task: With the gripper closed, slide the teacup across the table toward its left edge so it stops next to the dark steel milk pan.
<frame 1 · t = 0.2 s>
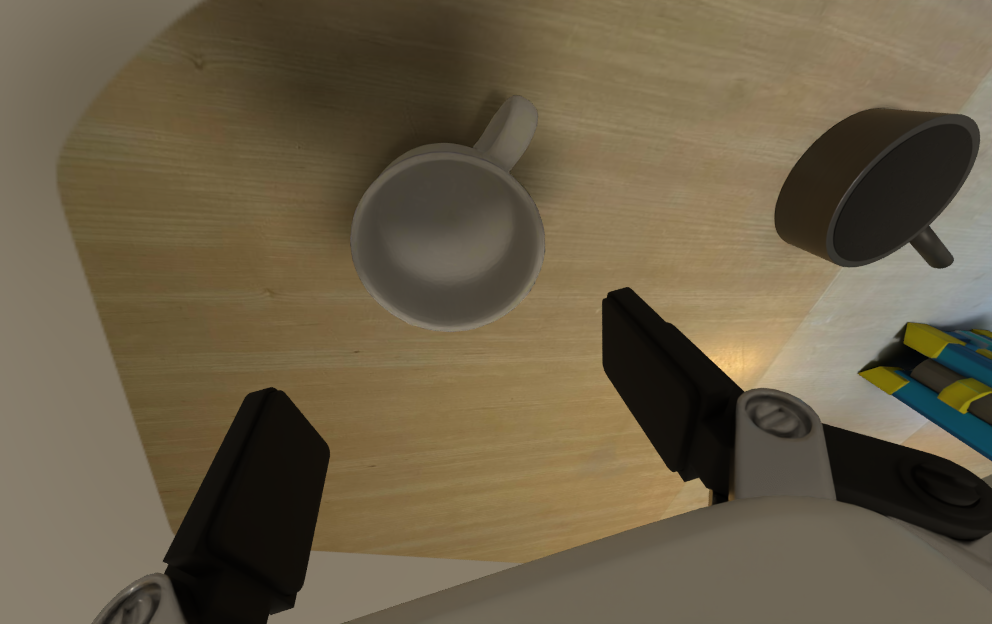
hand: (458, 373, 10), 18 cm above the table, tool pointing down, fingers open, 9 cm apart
milk pan: (837, 184, 32), on the table
teacup: (454, 194, 25), on the table
decorative book: (921, 349, 52), on the table
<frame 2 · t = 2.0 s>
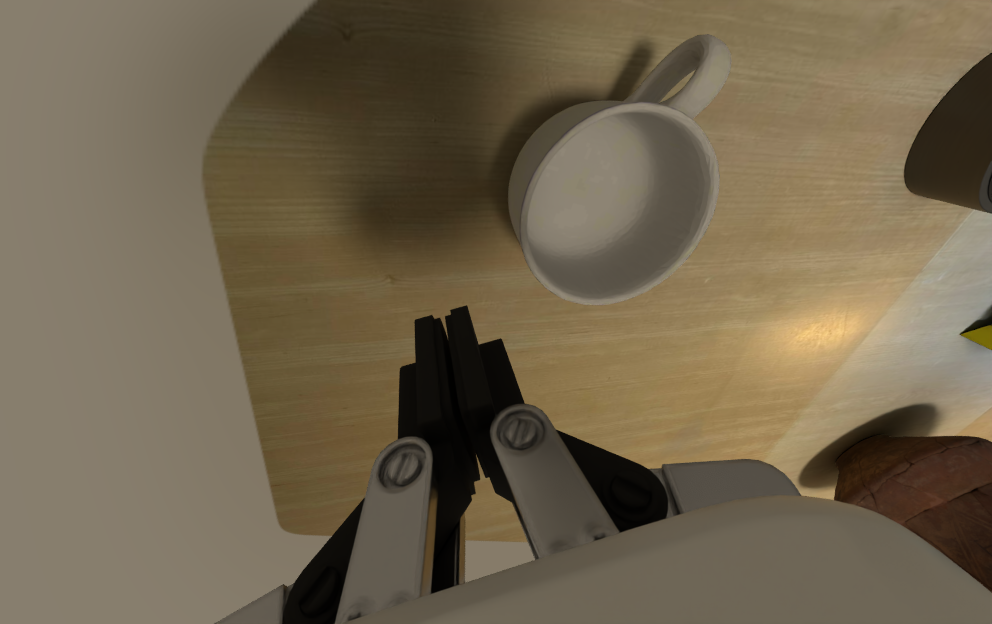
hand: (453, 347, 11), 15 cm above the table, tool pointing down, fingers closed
pottery vessel: (860, 446, 66), on the table
milk pan: (978, 122, 29), on the table
teacup: (581, 161, 24), on the table
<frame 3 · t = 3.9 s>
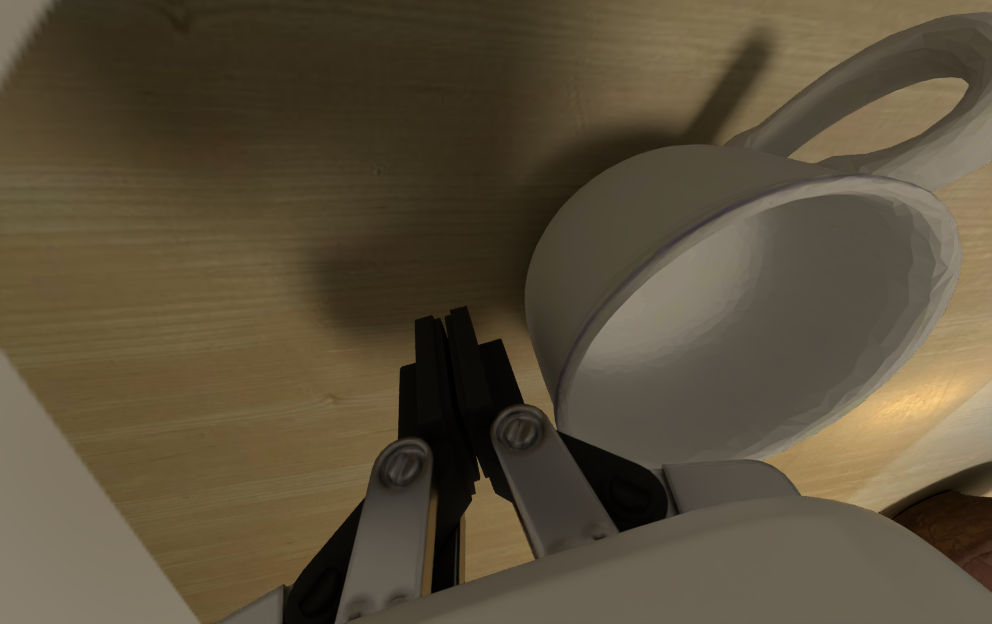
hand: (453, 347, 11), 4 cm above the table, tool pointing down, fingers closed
pottery vessel: (923, 502, 56), on the table
teacup: (637, 225, 15), on the table, touching gripper
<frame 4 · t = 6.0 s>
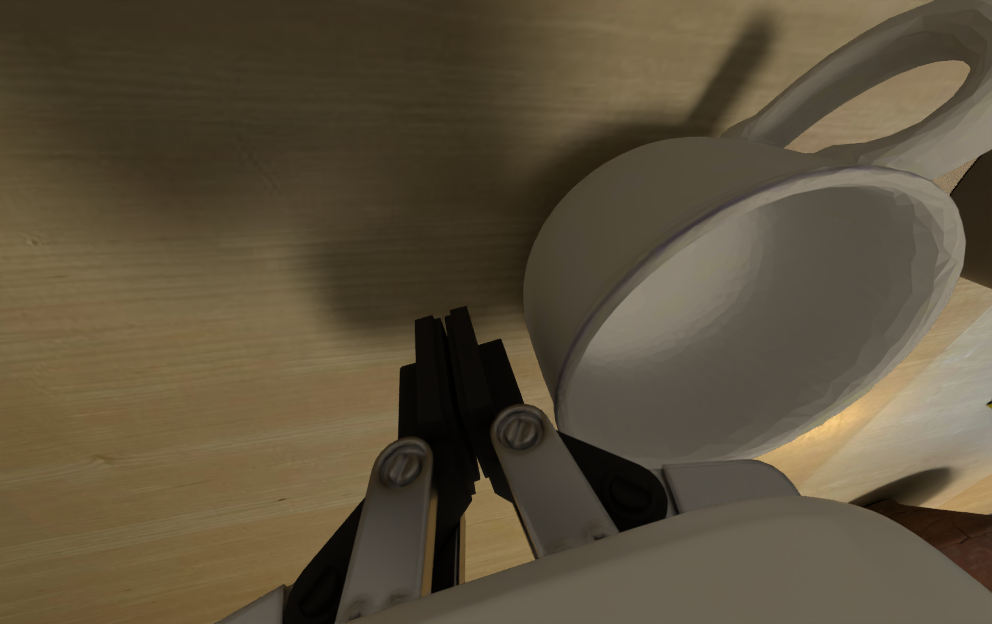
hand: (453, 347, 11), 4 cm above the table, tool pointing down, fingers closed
pottery vessel: (861, 511, 56), on the table
teacup: (635, 219, 15), on the table, touching gripper
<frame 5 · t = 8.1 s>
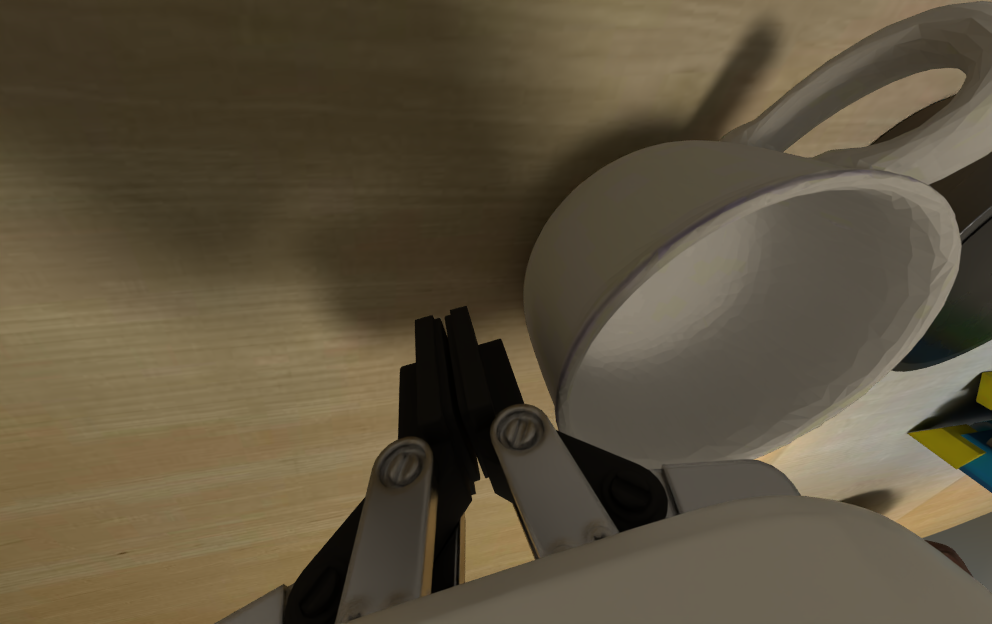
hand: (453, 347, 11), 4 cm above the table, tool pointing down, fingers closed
pottery vessel: (805, 532, 56), on the table
milk pan: (887, 223, 19), on the table
teacup: (635, 222, 15), on the table, touching gripper
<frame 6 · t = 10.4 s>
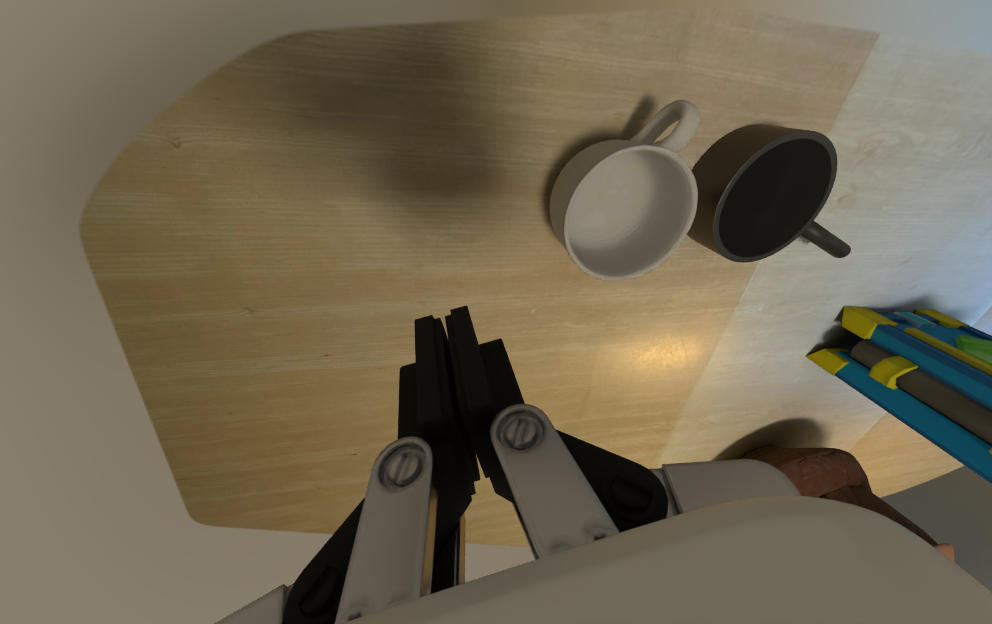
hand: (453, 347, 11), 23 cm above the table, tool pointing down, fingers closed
pottery vessel: (753, 457, 72), on the table
milk pan: (733, 189, 36), on the table
teacup: (600, 179, 33), on the table
decorative book: (867, 331, 55), on the table
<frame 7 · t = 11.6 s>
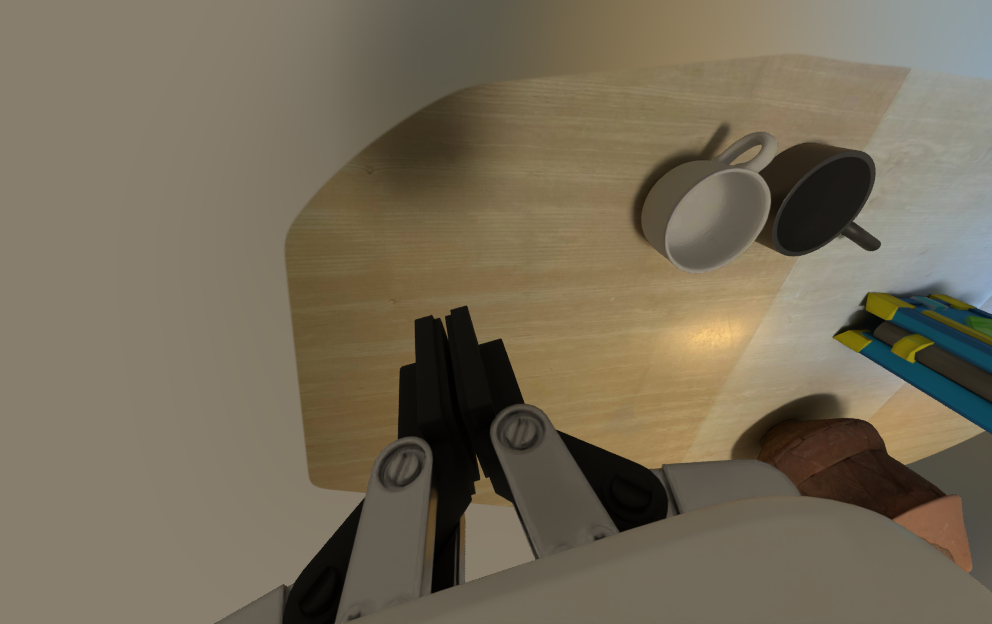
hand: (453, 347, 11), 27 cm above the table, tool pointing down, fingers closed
pottery vessel: (779, 430, 80), on the table
milk pan: (784, 195, 43), on the table
teacup: (679, 189, 40), on the table
decorative book: (887, 314, 63), on the table
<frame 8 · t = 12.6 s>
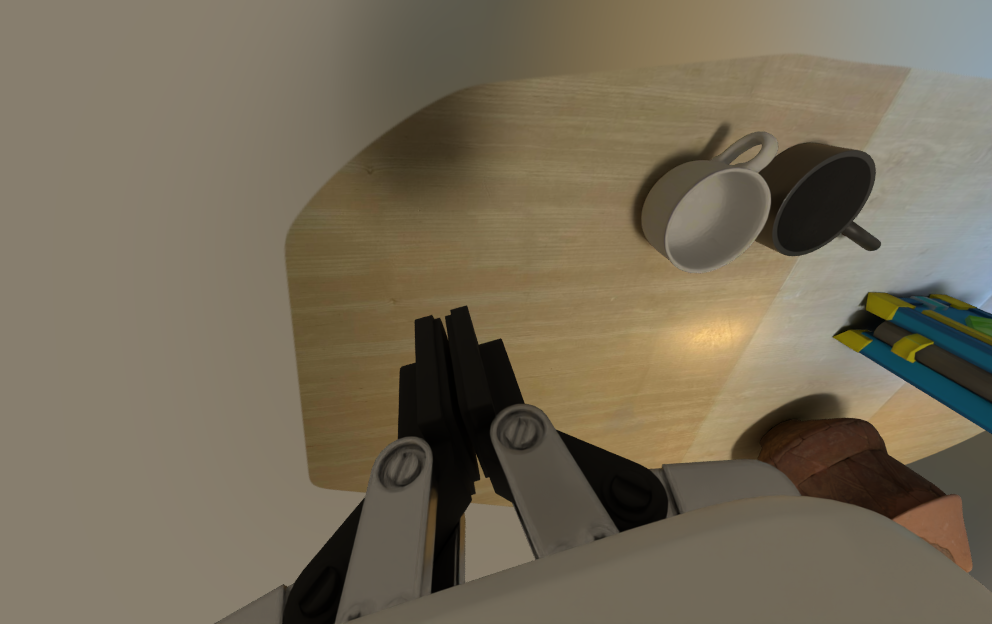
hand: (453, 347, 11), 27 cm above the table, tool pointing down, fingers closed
pottery vessel: (779, 430, 80), on the table
milk pan: (784, 195, 43), on the table
teacup: (679, 189, 40), on the table
decorative book: (887, 314, 63), on the table
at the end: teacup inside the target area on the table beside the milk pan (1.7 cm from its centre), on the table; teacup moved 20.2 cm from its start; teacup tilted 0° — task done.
